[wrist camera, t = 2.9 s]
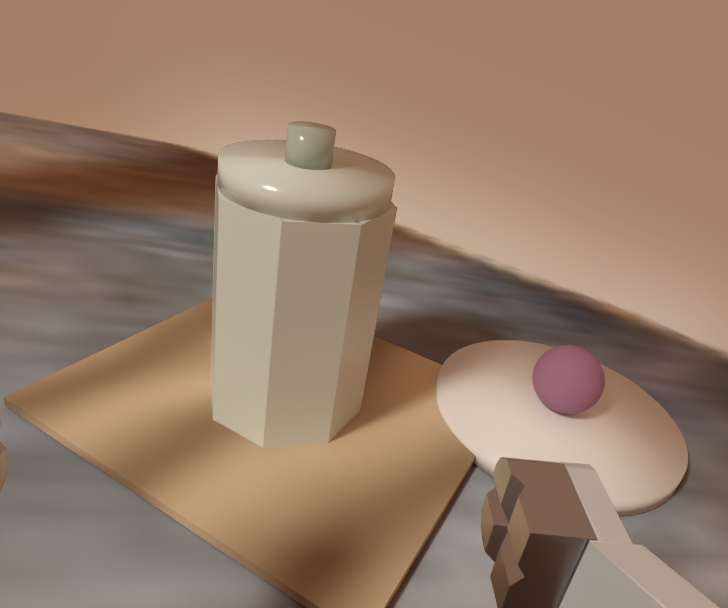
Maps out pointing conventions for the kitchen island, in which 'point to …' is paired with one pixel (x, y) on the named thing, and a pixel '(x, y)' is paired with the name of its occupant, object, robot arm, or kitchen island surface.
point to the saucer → (561, 424)
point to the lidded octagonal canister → (296, 284)
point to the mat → (265, 462)
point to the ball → (568, 379)
